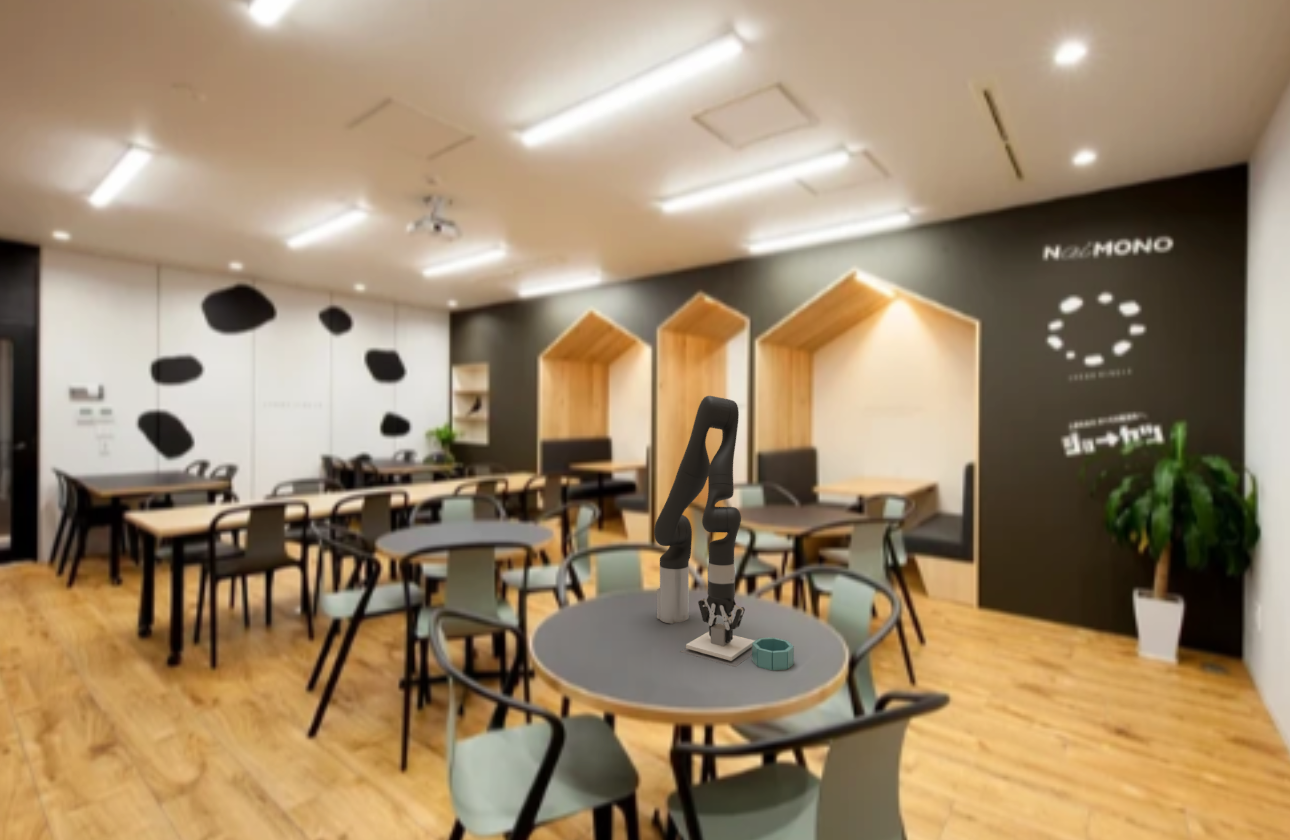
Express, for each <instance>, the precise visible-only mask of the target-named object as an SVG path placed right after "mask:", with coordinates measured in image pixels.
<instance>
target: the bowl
mask: <svg viewBox="0 0 1290 840" xmlns="http://www.w3.org/2000/svg"><path fill="white" fill-rule="evenodd" d="M794 647H795V646H794V645H793V644H792V643H791V642H790V641H789V640H787V639H781V638H778V637H760V638H756V639H754V642H753V643H752V655H751V661H752V662H753V663H754V664H755V666H756V667H757V668H761V669H765V670H769V671H781V670H783V671H784V670H789V669H790V668H791V667H792V666H794V663H795V661H794V659H795V658H794V656H795V653H794V652H795V650H794V649H795V648H794Z"/></svg>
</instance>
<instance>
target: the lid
mask: <svg viewBox="0 0 1290 840" xmlns="http://www.w3.org/2000/svg"><path fill="white" fill-rule="evenodd" d="M725 630H726V627H725V623H720V622H716V623H715V625H714V626H712V627H711V636H710V635H709V630H708V631H707V632H705V633H704V634H702V635H700V636H698V637H697V638H695V639H693V640H691V641H689V642H687V643H686V644H685V648H687V649H691V650H694V651H698V652H701V653H705V654H708V655H712V656H715V657H719V658H723V659H726V660H730V661H732V660H733V659H735V658H736V657H737V656H739V655H740V654H742V653H743V652H745V651H746V650H747V649H749V648H750V647H752V643H753V642H754V641H755V639H750V638H746V637H741V636H739V635H738V636H737V635H736V634H735V635H734V634H733V639H732V640H731V642H729V643H726V642H725Z"/></svg>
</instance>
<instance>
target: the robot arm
mask: <svg viewBox="0 0 1290 840" xmlns="http://www.w3.org/2000/svg"><path fill="white" fill-rule="evenodd" d="M710 428H711V429H717V430H721V432H722V434H721V436H722V437H721V442H720V443H721V444H720V446H719V447H718V450H717V451H716V453H715V454H714V456H713V458H712V460H711V461H710V458H709V455H708V450H707V445H706V440H707V436H708V433H709V429H710ZM738 428H739V406H738V404H737V402H736V401H734V400H732V399H728V398H725V397H720V396H719V397H718V396H713V395H706V396H704V397H703V398H702V400H701V401H700V403H699V406H698V408H697V412H696V415H695V417H694V422H693V426H692V429H691V433H690V436H689V441H688V443H687V446H686V449H685V452H684V454H683V457H682V459H681V461H680V464H679V467H678V469H677V471H676V475H675V478H674V482H673V484H672V486H671V489H670V491H669V494H668V497H667V499H666V501H665V504H664V506H663V507H662V510H661V511H660V513H659V515H658V517H657V519H656V521H655V524H654V529H653V530H654V531H653V535H654V539H655V541H656V543H657V544H658V545H659V546H661V547H662V546H663V547H668V549H667V550H666V551H665V552H664V553H663V554H662V555H661V556H660V557H659V587H658V588H657V589H656V604H657V605H656V606H657V607H656V609H657V610H656V612H657V613H656V619H658V620H660V621H661V622H663V623H666V624H671V625H673V624H676V623H681V622H685V621H687V620H689V615H690V613H689V612H690V611H689V607H690V606H689V605H690V603H689V599H690V598H689V596H690V595H689V589H690V588H689V584H690V583H689V577H690V576H689V573H690V572H689V562H690V559H691V555H692V539H693V537H692V536H693V533H692V531H693V530H692V529H693V528H692V525H691V522H690V519H689V518H688V517H687V515H684V512H685V510H686V509H687V508H688V507H689V506H690V504H692V503H693V501H695V499H696V498H697V497H698V496H699V495H700V493H701V492H702V491H703V489H704V487H705V485H706V483H707V480H708V489H707V492H708V493H707V499H706V504H705V508H704V512H703V514H702V519H701V520H702V521H701V524H702V527H703V529H704V530H705V531H706V532H708V533H727V534H726V535H725V536H724V537H722V538H720V539H715V540H713V541H710V542H709V544H708V567H707V595H708V596H707V598H703V599H701V600H698V601H697V603H698V607H699V610H700V614H701V618H702V621H703V622H704V623H707V624H708V625H709V627H708V631H709V635H710V636H711V627H712V626H714V625H715V624H717V622H718V617H719V616H720V617H722V621H723V623H724V624H725V627H726V630H725V642H726V643H729V642H731V640H732V639H733V635H734V633H733V632H734V630H736V629H737V628H739V627H740V625H741V622H742V619H743V617H744V614H745V610H746V609H745V607H744V606H742V607H740V606H739V605H737V603H736V600H735V596H736V569H735V547H736V546H735V544H736V540H737V536H738V533H739V530H740V527H741V522H742V516H741V512H740V510H739V509H738V508H737V507H734V506H716V504H717V503H718V502H720V501H724V500H729V499H731V498H733V497H734V491H735V490H734V458H735V451H736V444H737V435H738ZM709 608H710V609H709ZM733 610H734V615H733ZM733 618H734V619H733Z"/></svg>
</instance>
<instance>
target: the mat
mask: <svg viewBox="0 0 1290 840" xmlns="http://www.w3.org/2000/svg"><path fill="white" fill-rule="evenodd" d="M679 653H683V654H686V655H690V656H694V657H698V658H701V659H704V660H709V661H712V662H716V663H719V664H723V665H726V666H730V667H736V668H737V666H739V665H740V664H742V663H743V662H745V660H747V659H749V658H750V657H752V647H750V648H749V649H747V650H746V651H745V652H743V653H742V654H740V655H739V656H737V657H736V658H735V659H733V660H732V661H730V660H726V659H723V658H719V657H715V656H712V655H708V654H705V653H701V652H698V651H694V650H691V649H687V648H686V647H685V648H684V649H682V650H680V651H679Z"/></svg>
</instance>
